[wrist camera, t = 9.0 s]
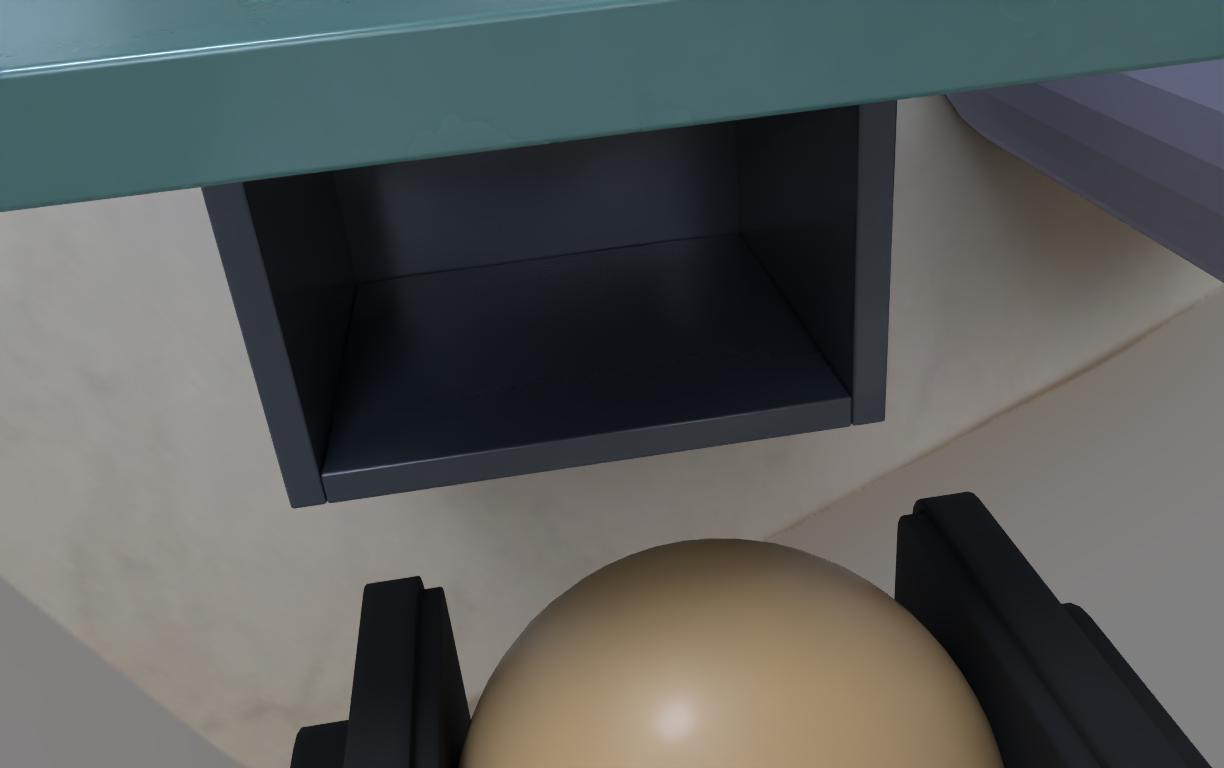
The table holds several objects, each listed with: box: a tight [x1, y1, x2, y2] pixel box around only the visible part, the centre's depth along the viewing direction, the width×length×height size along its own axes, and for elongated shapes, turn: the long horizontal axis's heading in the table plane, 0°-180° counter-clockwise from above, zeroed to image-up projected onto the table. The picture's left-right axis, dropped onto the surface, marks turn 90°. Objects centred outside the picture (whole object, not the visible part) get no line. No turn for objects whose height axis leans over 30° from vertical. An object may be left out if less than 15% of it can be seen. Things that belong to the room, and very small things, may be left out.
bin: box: [201, 100, 897, 508], centre depth 26 cm, size 13×14×12 cm
